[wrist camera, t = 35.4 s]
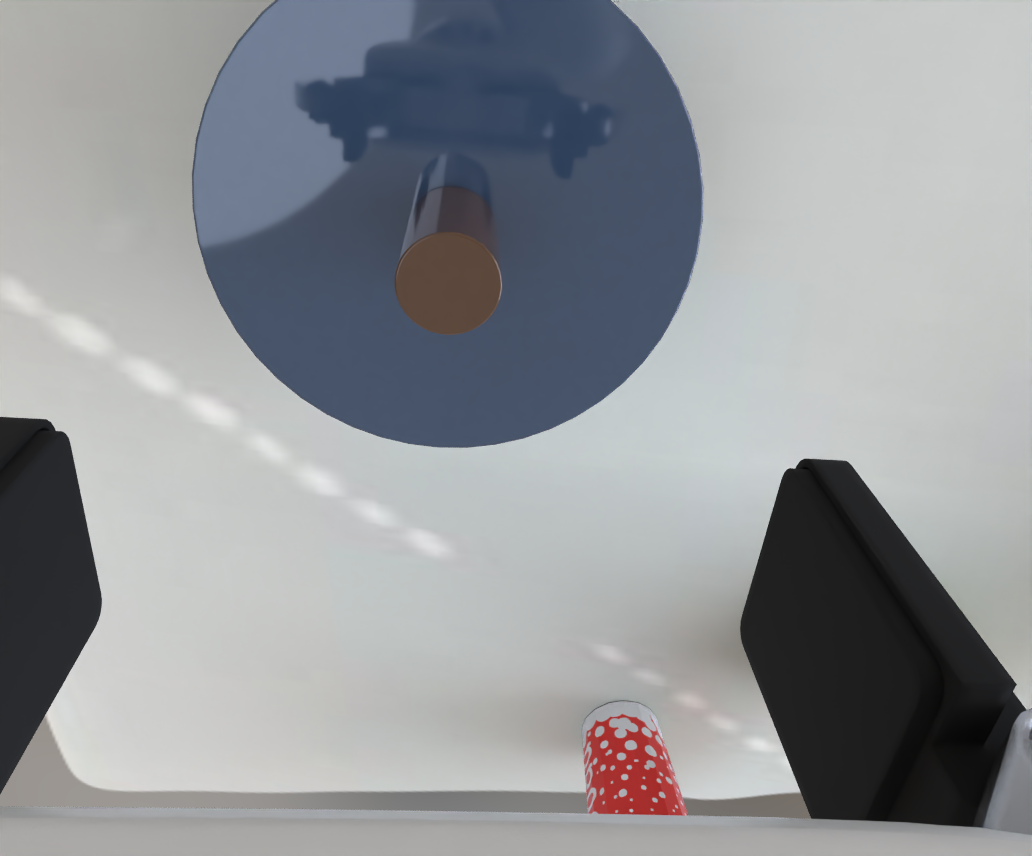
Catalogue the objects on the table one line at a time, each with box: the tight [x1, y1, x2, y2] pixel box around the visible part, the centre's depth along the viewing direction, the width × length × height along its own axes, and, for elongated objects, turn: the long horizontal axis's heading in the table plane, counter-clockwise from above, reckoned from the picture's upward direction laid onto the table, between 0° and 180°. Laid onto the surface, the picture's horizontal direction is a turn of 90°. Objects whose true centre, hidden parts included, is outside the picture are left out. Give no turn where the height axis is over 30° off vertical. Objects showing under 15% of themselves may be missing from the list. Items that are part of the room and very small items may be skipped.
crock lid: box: [192, 0, 703, 448], centre depth 22 cm, size 15×15×6 cm
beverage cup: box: [582, 701, 688, 816], centre depth 44 cm, size 6×6×14 cm
